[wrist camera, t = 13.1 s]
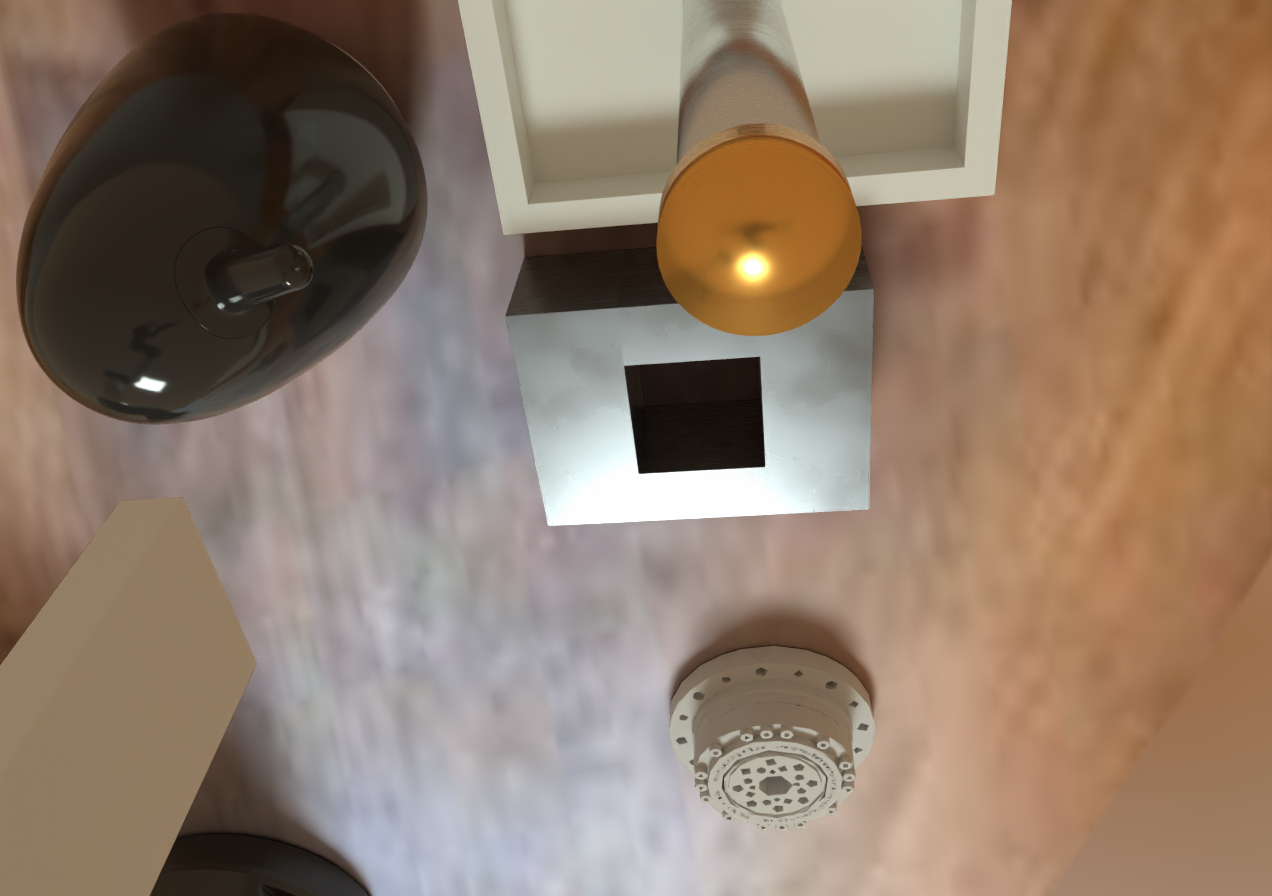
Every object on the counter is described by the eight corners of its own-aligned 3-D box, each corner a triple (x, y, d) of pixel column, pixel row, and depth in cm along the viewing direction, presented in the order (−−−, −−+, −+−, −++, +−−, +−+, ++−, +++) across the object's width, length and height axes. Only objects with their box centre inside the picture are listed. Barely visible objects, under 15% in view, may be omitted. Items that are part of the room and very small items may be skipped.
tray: (514, 206, 37) (503, 235, 35) (441, -186, 30) (423, -178, 28) (977, 166, 36) (994, 194, 34) (1011, -258, 29) (1034, -255, 27)
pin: (678, 74, 34) (666, 343, 20) (667, -47, 32) (646, 157, 18) (791, 63, 33) (860, 328, 19) (788, -60, 31) (863, 137, 17)
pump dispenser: (508, 213, 37) (411, 465, 25) (272, 313, 40) (80, 583, 28) (350, -76, 32) (129, 63, 20) (92, 64, 35) (-240, 261, 23)
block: (561, 456, 44) (548, 525, 40) (524, 257, 38) (505, 316, 35) (854, 439, 42) (869, 509, 39) (857, 231, 37) (874, 289, 33)
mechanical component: (865, 631, 49) (654, 650, 50) (878, 705, 45) (651, 723, 47) (876, 768, 54) (685, 781, 56) (888, 843, 51) (684, 855, 52)
